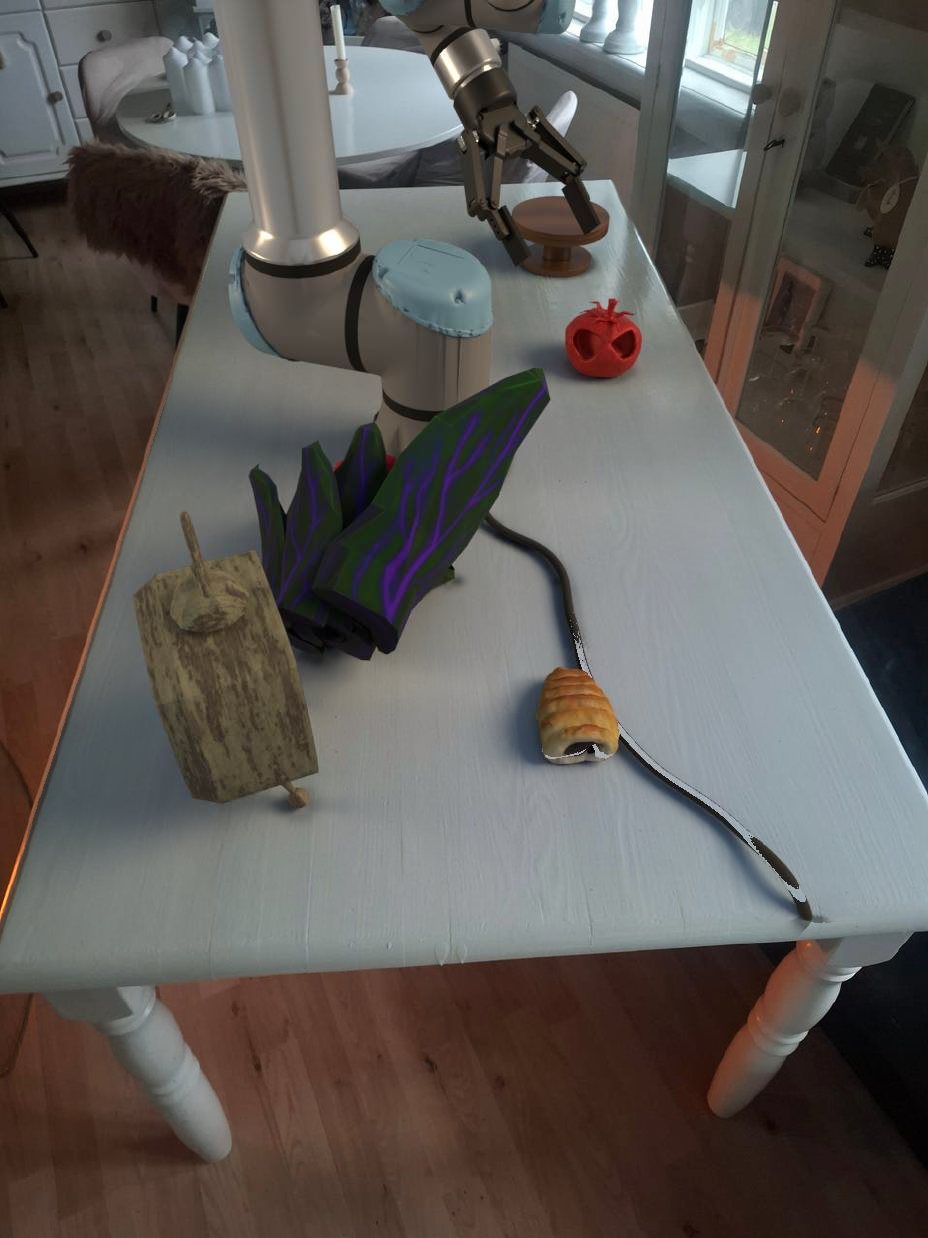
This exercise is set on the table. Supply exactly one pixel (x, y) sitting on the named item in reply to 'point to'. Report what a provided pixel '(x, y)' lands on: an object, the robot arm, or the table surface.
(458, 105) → the robot arm
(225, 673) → the brown boxy piece
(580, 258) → the stand
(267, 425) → the table surface
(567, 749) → the pastry
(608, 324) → the angry red tomato
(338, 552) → the decorative plant
